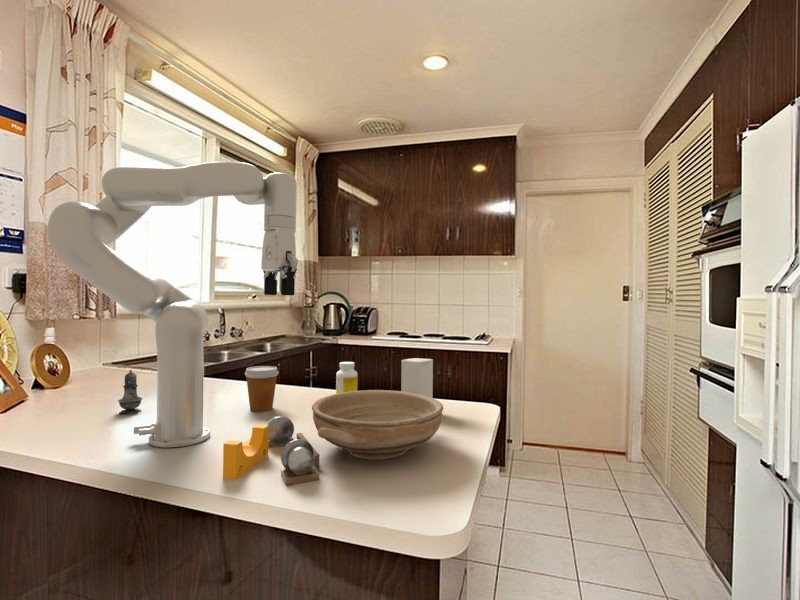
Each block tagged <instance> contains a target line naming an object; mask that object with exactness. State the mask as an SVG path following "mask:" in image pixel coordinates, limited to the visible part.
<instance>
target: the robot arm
mask: <svg viewBox="0 0 800 600" xmlns="http://www.w3.org/2000/svg"><path fill="white" fill-rule="evenodd" d="M297 185H298V183H297V180H296V178H295V176H293V175H291V174H289V173H284V172H273V173H269V174H267V175H266V177H265V176H264V175H263V173H262V171H261V170H260V169H259V168H258V167H256V165H253V164H250V163H248V162H240V161H239V162H237V161H212V162H203V163H196V164H191V165H186V166H181V167H168V166H167V167H158V166H157V167H149V166H147V167H143V166H142V167H141V166H140V167H139V166H136V167H135V166H130V167H129V166H125V167H124V166H123V167H122V166H119V167H114V168H111V169H108V170H107V171H106V172H105V173H104V174H103V176H102V178H101V188H102V191H103V193H104V195H105V197H104V198H103V199H101V200H100V201H99V202H98V203H97V204H96V205H91V204H89V203H87V202H83V201H82V202H81V201H68V202H63V203H60V204H59V205H58V206H56V207H55V208H54V210H53V211H52V212H51V214H50V216H49V219H48V223H47V236H48V241H49V243H50V246H51V248H52V250H53V252H54V253H55V255H56V256H57V257H58V259H59V260H60V261H61V262H62V263H63V264H64V265H65V266H66V267H68V269H69V270H71V271H72V272H74V273H75V274H76V275H77V276H79V277H80V278H82V279H83V280H85V282H88V283H89V284H90V285H91V286H93V287H94V288H95V289H97V290H98V291H99V292H101V293H103V294H104V295H105V296H106V297H109V299H111V300H113V301H114V302H115V303H117V304H118V305H119V306H120V307H122V308H123V309H124V310H125V311H128V312H130V313H131V314H132V313H133V314H136V315H138V314H139V315H140V314H141V315H145V316H146V317H148V318H149V319H151V320H152V321H153V322H155V330H154V331H155V343H156V364H157V365H156V366H157V369H156V375H157V380H156V381H157V387H156V418H155V420H154V422H150V424H137V425H135V424H134V425H133V435H138V436H145V435H146V436H147V435H150V436H149V437H148V444H149V445H151V446H153V447H156V448H180V447H181V448H182V447H187V446H191V445H196V444H199V443H201V442H204V441H205V440H207V439H208V438H209V437H211V430H210V429H209V428H208V427H205V426H204V383H205V382H204V378H205V377H204V376H205V375H204V373H205V371H204V370H205V369H204V367H205V366H204V363H205V362H204V361H205V360H204V359H205V358H204V332H205V331H206V329H207V328H208V325H209V315H208V313H207V311H206V310H205V308H204V307H203V306H202V305H201V304H199V303H198V302H197V301H195V300H194V299H192V298H191V297H190V296H188V295H187V294H185V292H183V291H181V290H180V289H179V288H177V287H176V286H175V285H174V284H172V283H170V282H169V281H167V280H166V279H165V278H163V277H162V276H159V275H157V274H153V273H149V272H146V271H144V270H142V269H141V268H139V267H137V266H136V265H135V264H132V263H131V261H128V260H127V259H126V258H124V256H122V255H121V254H119V253H118V252H117V251H115V250H113V249H112V248H111V247H109V246H108V245H111V244H112V243H113V242H116V240H118V239H119V238H120V237H122V235H124V234H125V233H126V232H127V231H128V230H129V229H130V228H131V227H132V226H133V225H135V224H136V222H138V221H139V220H140V219H141V218H142V217H143V216H144V215H145V214H146V213H147V212H148V211H149V210H150V209H151V207H165V206H166V207H167V206H170V207H177V206H178V207H183V206H185V207H186V206H189V205H192V204H194V203H195V202H197V201H198V200H202V199H205V198H210V197H226V196H227V197H228V196H229V197H232V196H233V197H234V198H235V200H236V201H238V202H239V203H241V204H243V205H249V206H254V205H256V206H257V205H264V212H263V214H264V216H263V217H264V218H263V219H264V221H263V222H264V223H263V231H264V236H263V241H262V249H261V265H260V266H261V270H262V271H263V280H264V282H263V285H264V287H263V294H264V295H265V296H277V294H278V279H277V276H278V274H279V273H281V276H282V278H280V285H281V286H280V295H281V296H294V295H295V285H296V283H295V281H296V277H297V276H296V273H297V270H298V269H297V267H298V263H299V259H298V258H297V255H296V254H297V251H296V249H297V248H296V234H295V233H297V229H296V227H297V187H298V186H297Z"/></svg>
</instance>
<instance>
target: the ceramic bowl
mask: <svg viewBox="0 0 800 600" xmlns="http://www.w3.org/2000/svg"><path fill="white" fill-rule="evenodd" d="M311 410H312V419H313V423H314V426H315V428H316V431H317V435H318V438H319V437H320V438H321V439H324V440H325V441H327V442H328V443H329V444H332V445H334V446H336V447H339V448H341V449H344V450H347V451H348V453H349V454H350V455H351V456H352V457H356V458H359V459H362V460H363V459H364V460H369V461H384V460H385V461H386V460H391V459H392V460H393V459H396V458H399V457H401V456H403V455H404V454H406V453H407V451H408V450H411V449H413V448H416V447H418V446H420V445H423V444H424V443H426V442H427V441H429V440H430V439H431V438H432V437H434V435H435V434H436V433H437V432H438V430H439V428H440V425H441V423H442V419H443V411H444V405H443V403H441V402H440V401H439V400H437V399H436V398H435V397H434V398H431V397H428V396H425V395H421V394H419V393H417V392H403V391H401V390H388V389H387V390H386V389H385V390H384V389H367V390H366V389H365V390H357V391H351V392H344V393H338V394H336V393H333V394H330V395H327V396H324V397H321V398H318V400H316V401H315V402H314V403H313V404H312V406H311Z"/></svg>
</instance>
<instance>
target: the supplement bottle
mask: <svg viewBox="0 0 800 600" xmlns="http://www.w3.org/2000/svg"><path fill="white" fill-rule="evenodd" d="M355 363H356V362H355V361H354V362H353V361H341V362H339V370H338V371H337V372H336V376H335V379H336V380H335V383H336V384H335V394H338V393H344V392H351V391H358V378H359V377H358V372H357V370H355Z"/></svg>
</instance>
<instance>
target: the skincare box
mask: <svg viewBox="0 0 800 600" xmlns="http://www.w3.org/2000/svg"><path fill="white" fill-rule="evenodd" d="M433 369H434V359H432V358H421V357H420V358H418V357H415V358H414V357H413V358H407V359H406V358H405V359H402V360H401V376H400V377H401V378H400V379H401V380H400V381H401V385H400V386H401V390H400V391H403V392H417V393H419V394H421V395H425V396H428V397H431V398H433V392H434V389H433V387H434V385H433V384H434V383H433V382H434V380H433V378H434V372H433V371H434V370H433Z"/></svg>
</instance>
